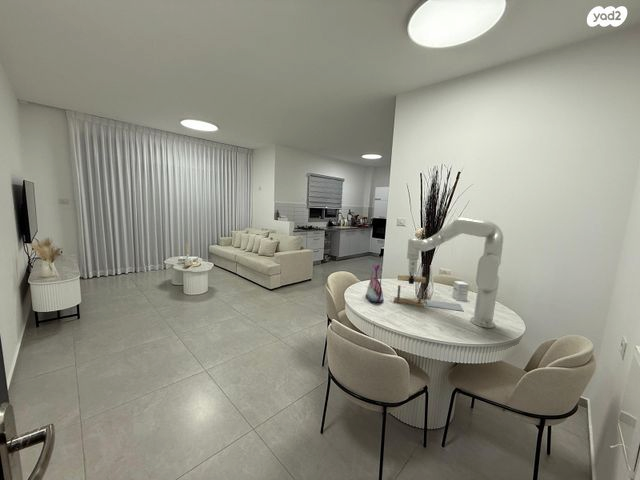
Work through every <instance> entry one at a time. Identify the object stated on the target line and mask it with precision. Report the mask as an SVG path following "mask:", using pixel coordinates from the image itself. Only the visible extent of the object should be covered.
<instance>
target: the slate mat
mask: <svg viewBox="0 0 640 480" xmlns="http://www.w3.org/2000/svg"><path fill="white" fill-rule="evenodd" d="M425 302H426V306H427V307H429V308H435V309H442V310H448V311H449V310H450V311H457V312H465V311H464V309H463V306H462V305H461V304H460V303H455V302H454V303H453V302H445V301H439V300H432V299H425Z"/></svg>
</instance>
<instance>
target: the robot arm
mask: <svg viewBox="0 0 640 480" xmlns="http://www.w3.org/2000/svg"><path fill="white" fill-rule="evenodd" d="M462 234H464V235H467V236H468V235H470V236H474V237H480V238H485V242H484V248H483V253H482V255H481V256H480V257H479V259H478V263H477V269H476V270H477V271H476V276H475V282H476V283H475V285H476V286H477V290H476V298H475V305H474V313H473V316H472V317H470V322H471V323H472V324H474V325H475V326H478V327H480V328H481V327H482V328H487V329H492V328H496V323H495V322H494V314H495V307H496V303H497V302H496V301H497V294H498V288H499V283H500V277H499V273H498V272H499V267H500V265H501V263H502V253H503V244H504V234H503V231H502V229H501V228H500V227H499V226H498V225H497V224H495V222H492V221H489V220H483V221H482V220H475V219H469V218H468V217H464V216H463V217H462V216H461V217H457V218H455V219H454V220H452V222H450V223H449V224H447V225H445V226H444V227H441V228H440V230H439V231H438V232H436V233H435V234H433V235H432V236H430V237H428V238H424V239H419V238H414V237H411V238H409V239H408V242H407V252H406V253H407V257H406V258H407V259H408V276H411V277H410V278H409V281H408V284H410V285H414V283H415V282H414V276H415V275H417V272H418V271H417V269H418V260H420V252H427V251H430V250H433V249H435V248H437V247H438V246H440V245H443V244H444V243H446V242H449V241H451V240H453V238H456V237H457V236H460V235H462Z"/></svg>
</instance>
